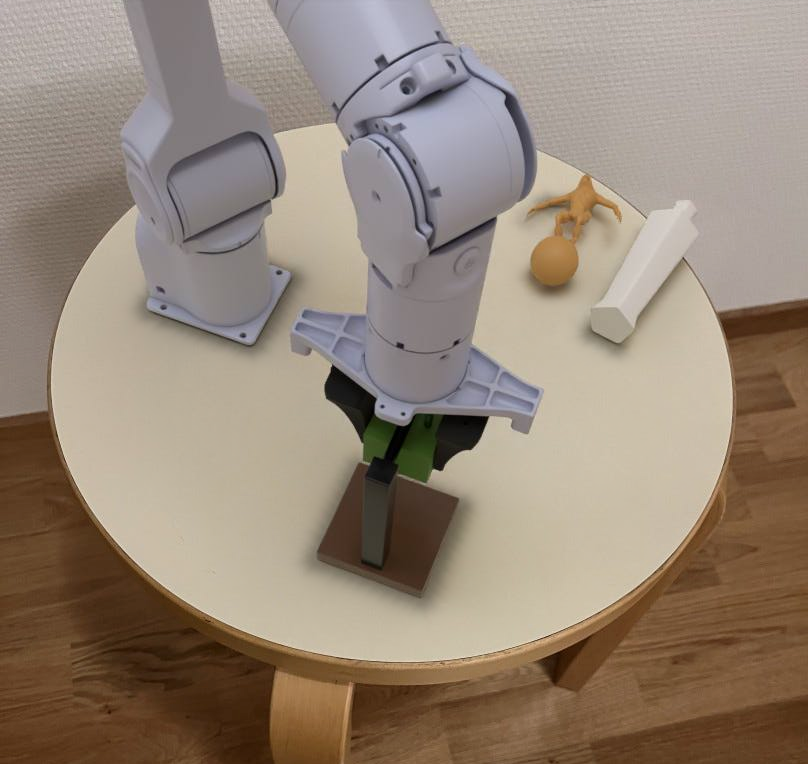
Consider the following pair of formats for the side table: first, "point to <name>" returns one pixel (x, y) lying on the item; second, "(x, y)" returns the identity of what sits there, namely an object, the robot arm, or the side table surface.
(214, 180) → the robot arm
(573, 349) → the side table surface
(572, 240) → the figurine
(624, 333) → the perfume bottle
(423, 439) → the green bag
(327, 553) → the hook stand
